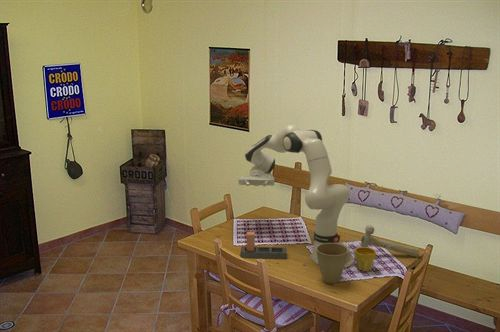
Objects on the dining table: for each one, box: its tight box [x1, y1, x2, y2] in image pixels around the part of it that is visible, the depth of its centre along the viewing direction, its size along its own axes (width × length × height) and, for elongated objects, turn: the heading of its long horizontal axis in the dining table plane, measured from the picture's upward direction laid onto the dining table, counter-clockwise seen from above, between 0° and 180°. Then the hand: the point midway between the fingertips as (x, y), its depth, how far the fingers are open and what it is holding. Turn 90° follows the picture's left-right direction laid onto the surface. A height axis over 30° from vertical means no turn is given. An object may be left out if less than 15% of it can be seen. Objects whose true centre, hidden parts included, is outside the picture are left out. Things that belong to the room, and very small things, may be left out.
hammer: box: [360, 224, 420, 258], centre depth 287 cm, size 16×5×30 cm
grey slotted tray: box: [240, 245, 288, 260], centre depth 286 cm, size 24×8×3 cm, turn 88°
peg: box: [246, 231, 256, 252], centre depth 285 cm, size 4×4×12 cm
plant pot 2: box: [354, 246, 377, 272], centre depth 271 cm, size 10×10×10 cm
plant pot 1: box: [316, 243, 349, 284], centre depth 258 cm, size 15×15×16 cm
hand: (256, 184), depth 300 cm, fingers open, 8 cm apart
